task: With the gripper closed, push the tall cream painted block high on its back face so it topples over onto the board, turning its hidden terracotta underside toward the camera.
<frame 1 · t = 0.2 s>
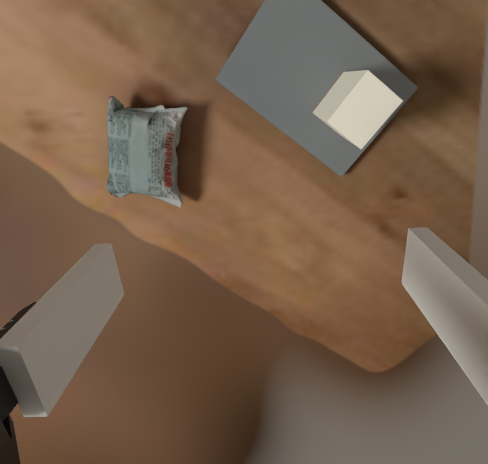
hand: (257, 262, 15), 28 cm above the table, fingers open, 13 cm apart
board: (314, 83, 38), on the table
packaged food: (154, 151, 42), on the table
block: (341, 104, 38), point 1 cm above the table, touching board
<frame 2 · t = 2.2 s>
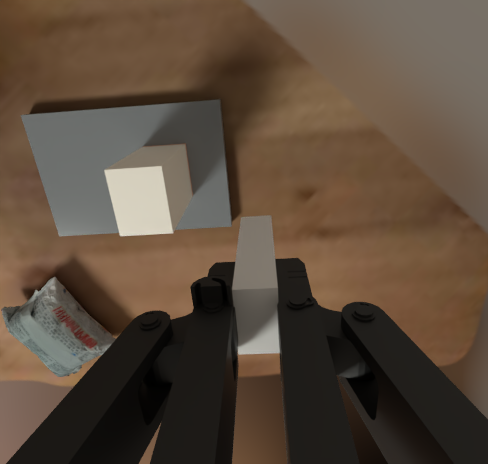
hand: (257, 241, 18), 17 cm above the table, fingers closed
board: (136, 170, 34), on the table
packaged food: (75, 315, 42), on the table
block: (168, 171, 33), point 1 cm above the table, touching board
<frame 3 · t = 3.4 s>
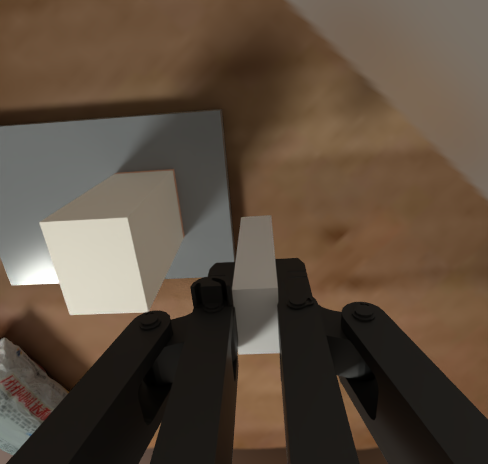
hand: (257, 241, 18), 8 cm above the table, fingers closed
board: (109, 202, 26), on the table
packaged food: (36, 377, 34), on the table
block: (151, 205, 24), point 1 cm above the table, touching board
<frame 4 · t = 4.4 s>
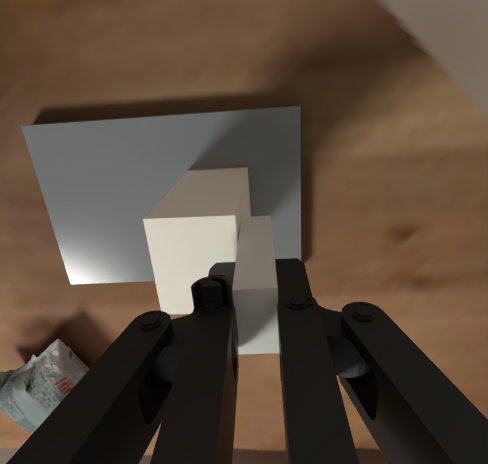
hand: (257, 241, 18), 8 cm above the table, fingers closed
board: (175, 200, 25), on the table
packaged food: (82, 378, 33), on the table
block: (221, 203, 24), point 1 cm above the table, touching board, gripper
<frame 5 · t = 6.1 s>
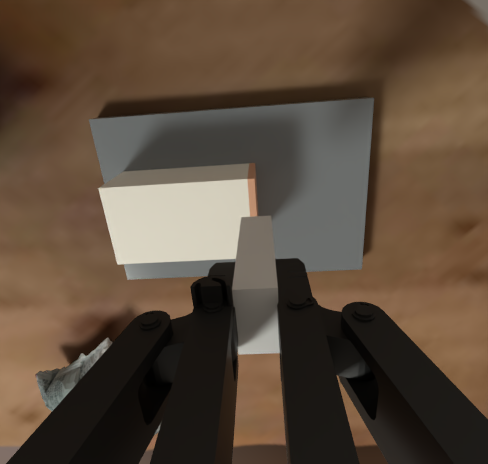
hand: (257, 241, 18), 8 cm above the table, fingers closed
board: (236, 194, 25), on the table
packaged food: (124, 377, 33), on the table
block: (257, 208, 22), point 3 cm above the table, tilted 90°, touching board
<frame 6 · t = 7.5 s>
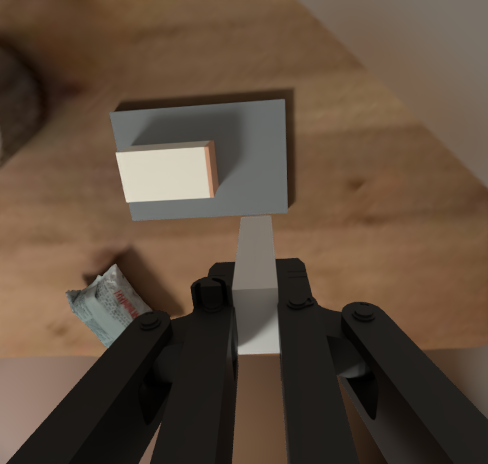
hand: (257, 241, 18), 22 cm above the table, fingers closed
board: (204, 162, 38), on the table
packaged food: (127, 300, 47), on the table
block: (213, 168, 35), point 3 cm above the table, tilted 90°, touching board
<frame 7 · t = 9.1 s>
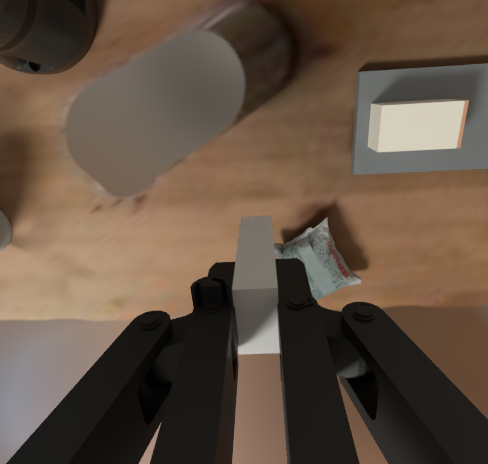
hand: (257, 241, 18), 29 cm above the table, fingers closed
board: (428, 120, 42), on the table
packaged food: (315, 255, 51), on the table
block: (454, 122, 39), point 3 cm above the table, tilted 90°, touching board
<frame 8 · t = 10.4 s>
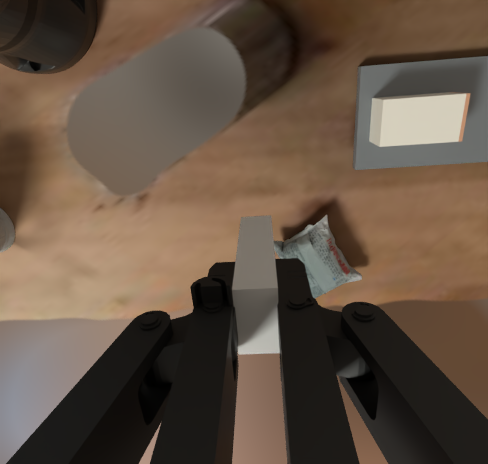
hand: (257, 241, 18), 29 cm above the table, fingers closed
board: (429, 114, 42), on the table
packaged food: (316, 252, 51), on the table
block: (456, 116, 39), point 3 cm above the table, tilted 90°, touching board
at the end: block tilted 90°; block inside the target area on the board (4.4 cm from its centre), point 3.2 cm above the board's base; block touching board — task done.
